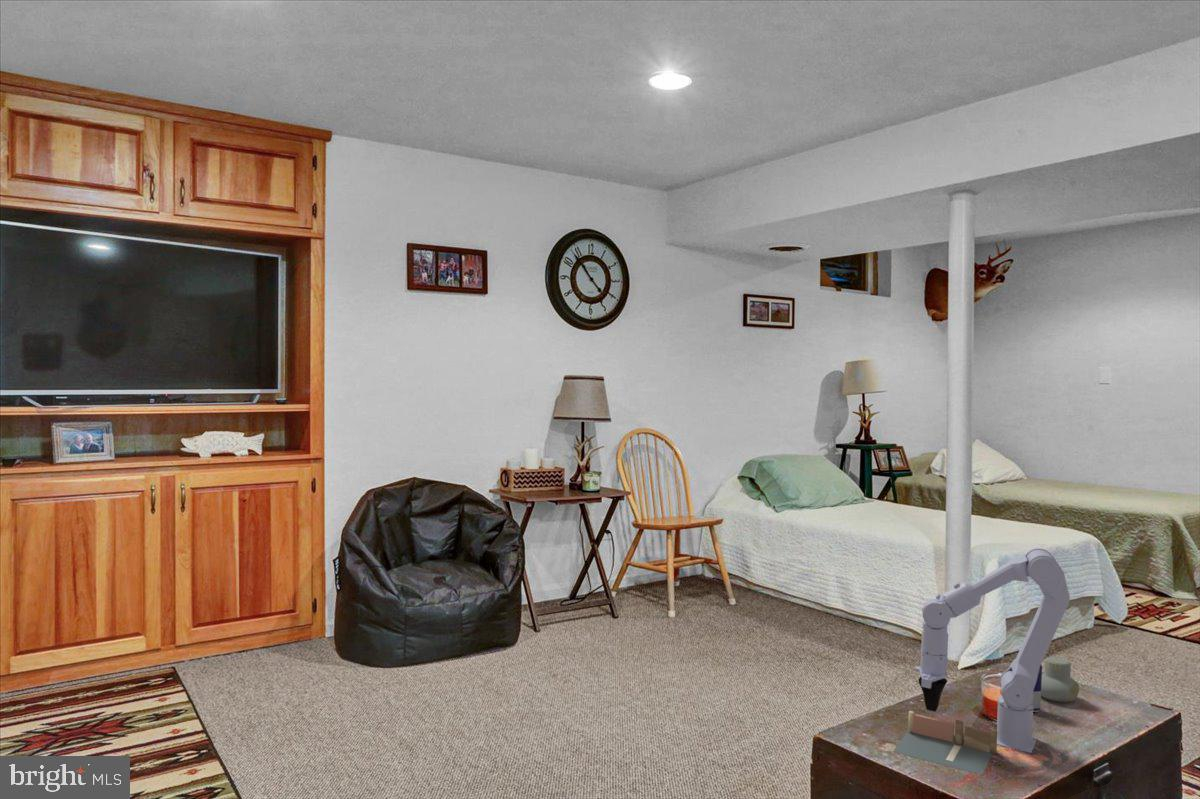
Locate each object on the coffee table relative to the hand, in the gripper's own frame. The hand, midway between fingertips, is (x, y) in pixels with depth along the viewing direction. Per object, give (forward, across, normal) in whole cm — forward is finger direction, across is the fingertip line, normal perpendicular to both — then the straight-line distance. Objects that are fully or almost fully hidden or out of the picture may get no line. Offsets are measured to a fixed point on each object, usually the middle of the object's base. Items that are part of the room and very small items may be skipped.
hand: (931, 709), depth 197 cm
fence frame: (+4, +6, +11) cm, 13 cm away
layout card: (+5, +11, +5) cm, 13 cm away
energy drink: (+5, -28, +17) cm, 34 cm away
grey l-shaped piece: (+5, -42, +22) cm, 47 cm away
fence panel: (+4, +6, +1) cm, 7 cm away
